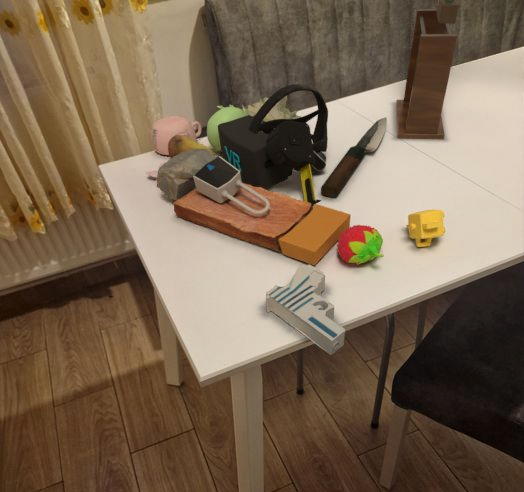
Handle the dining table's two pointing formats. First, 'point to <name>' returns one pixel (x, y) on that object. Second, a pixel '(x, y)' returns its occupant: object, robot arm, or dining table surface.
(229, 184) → the padlock
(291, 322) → the toy gun
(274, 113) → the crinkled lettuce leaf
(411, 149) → the dining table surface
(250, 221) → the wooden plank
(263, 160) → the virtual reality headset
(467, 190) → the dining table surface
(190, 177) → the stone
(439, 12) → the green t-shaped stand
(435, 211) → the yellow studded block
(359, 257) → the strawberry
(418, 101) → the wooden rack
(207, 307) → the dining table surface
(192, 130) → the mug
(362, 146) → the kitchen knife
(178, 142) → the fruit
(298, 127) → the tape measure
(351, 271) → the dining table surface
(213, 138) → the green curved piece
